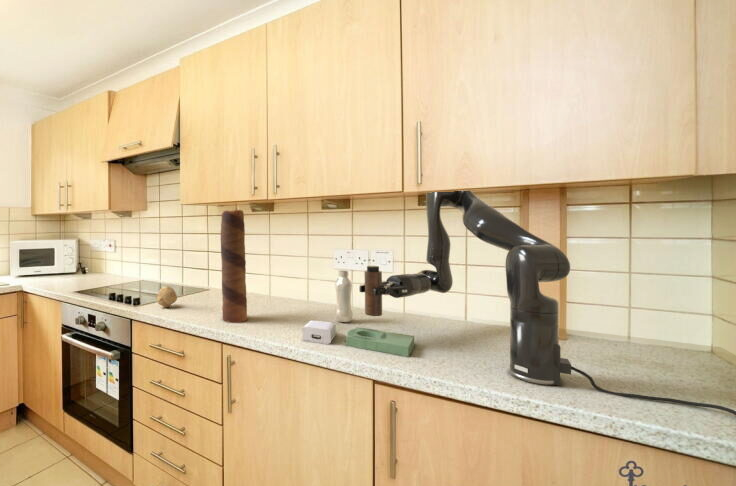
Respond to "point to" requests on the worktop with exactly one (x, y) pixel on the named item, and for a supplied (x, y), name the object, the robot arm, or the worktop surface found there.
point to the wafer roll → (233, 266)
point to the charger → (319, 332)
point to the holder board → (380, 341)
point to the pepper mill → (373, 281)
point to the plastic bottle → (343, 297)
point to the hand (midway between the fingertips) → (367, 290)
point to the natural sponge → (166, 296)
